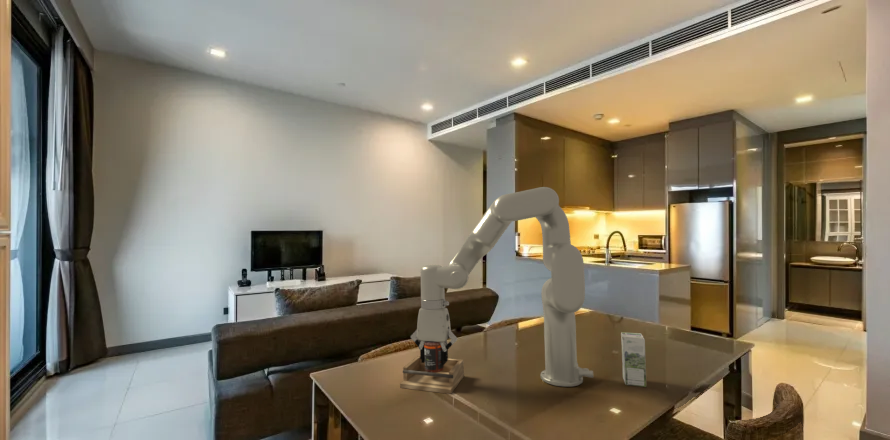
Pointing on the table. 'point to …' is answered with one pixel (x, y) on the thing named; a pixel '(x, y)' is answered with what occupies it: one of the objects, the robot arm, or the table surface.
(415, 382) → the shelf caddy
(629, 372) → the syrup box
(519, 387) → the table surface
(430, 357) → the supplement bottle
